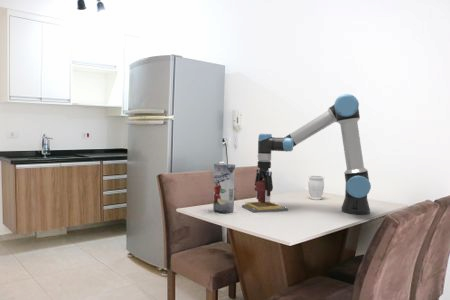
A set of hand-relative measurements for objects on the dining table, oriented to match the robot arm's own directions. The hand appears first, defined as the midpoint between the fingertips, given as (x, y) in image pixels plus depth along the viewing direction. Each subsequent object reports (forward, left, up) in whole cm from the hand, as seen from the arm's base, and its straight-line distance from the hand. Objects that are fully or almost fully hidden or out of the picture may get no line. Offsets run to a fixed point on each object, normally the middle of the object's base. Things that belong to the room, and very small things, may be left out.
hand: (263, 200), depth 210 cm
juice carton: (-1, +24, -5) cm, 25 cm away
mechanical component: (0, 0, -1) cm, 1 cm away
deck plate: (0, -1, -5) cm, 5 cm away
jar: (+22, -52, -5) cm, 56 cm away
